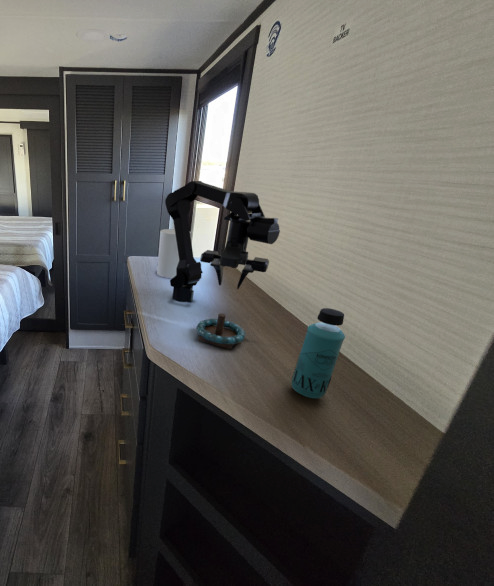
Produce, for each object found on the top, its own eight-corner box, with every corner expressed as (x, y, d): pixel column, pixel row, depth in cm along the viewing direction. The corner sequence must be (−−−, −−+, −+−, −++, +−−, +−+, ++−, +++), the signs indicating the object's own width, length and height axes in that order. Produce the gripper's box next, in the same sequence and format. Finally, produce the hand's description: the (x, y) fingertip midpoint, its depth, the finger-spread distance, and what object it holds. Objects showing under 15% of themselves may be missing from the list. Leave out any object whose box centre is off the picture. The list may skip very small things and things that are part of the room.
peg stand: (198, 340, 89) (201, 316, 86) (206, 328, 96) (209, 305, 93) (231, 349, 84) (235, 324, 82) (237, 336, 92) (241, 312, 89)
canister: (151, 271, 150) (154, 229, 143) (174, 268, 155) (179, 228, 148) (167, 280, 138) (171, 235, 131) (192, 276, 144) (197, 233, 136)
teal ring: (190, 337, 88) (191, 330, 87) (203, 319, 98) (204, 314, 97) (239, 350, 81) (241, 343, 80) (247, 330, 92) (249, 324, 91)
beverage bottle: (282, 385, 70) (304, 304, 63) (309, 384, 71) (335, 304, 64) (301, 406, 64) (328, 318, 57) (331, 404, 65) (362, 317, 58)
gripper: (198, 237, 90) (191, 288, 96) (269, 247, 81) (257, 302, 87) (208, 232, 99) (202, 278, 105) (274, 239, 89) (262, 290, 95)
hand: (228, 286), depth 97 cm, fingers open, 5 cm apart
